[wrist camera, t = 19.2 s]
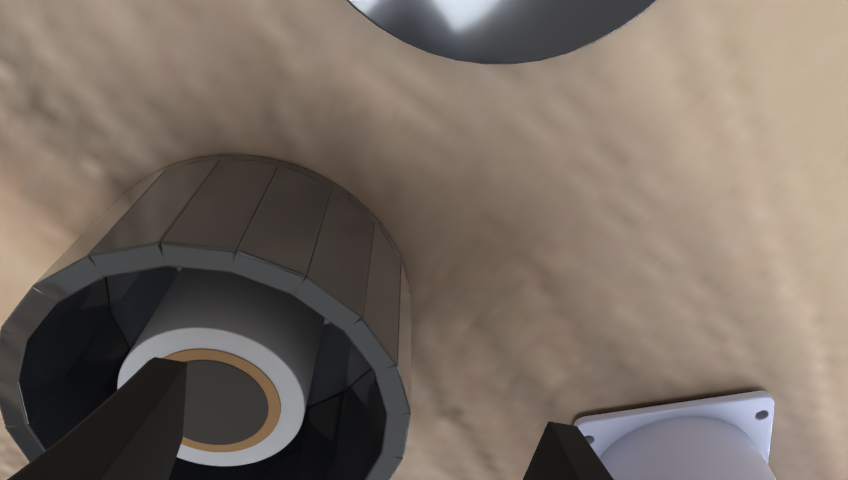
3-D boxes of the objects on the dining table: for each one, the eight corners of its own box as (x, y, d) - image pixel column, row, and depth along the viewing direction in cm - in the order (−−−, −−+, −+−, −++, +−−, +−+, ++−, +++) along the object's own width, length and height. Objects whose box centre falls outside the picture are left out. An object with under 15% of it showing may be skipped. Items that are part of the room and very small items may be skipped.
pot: (435, 391, 25) (440, 522, 20) (166, 432, 26) (104, 568, 21) (370, 123, 20) (355, 206, 14) (34, 187, 21) (-96, 287, 15)
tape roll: (341, 353, 24) (325, 455, 19) (204, 375, 24) (159, 480, 20) (301, 229, 21) (272, 315, 17) (148, 256, 21) (82, 346, 17)
